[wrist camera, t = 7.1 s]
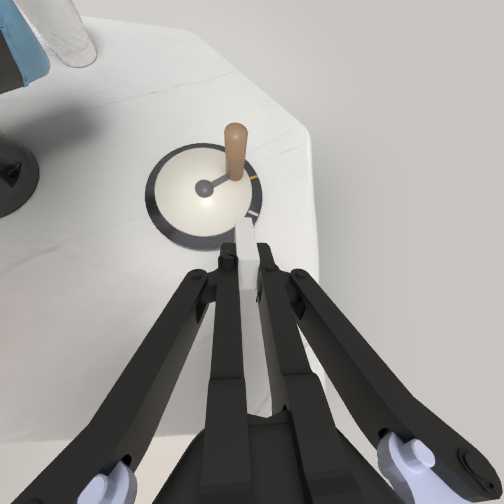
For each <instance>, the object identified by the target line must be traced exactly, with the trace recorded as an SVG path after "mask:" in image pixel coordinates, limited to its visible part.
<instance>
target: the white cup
mask: <svg viewBox="0 0 504 504" xmlns="http://www.w3.org/2000/svg"><path fill="white" fill-rule="evenodd" d="M14 1H15V3H16V4H17V5H18V7H19V8H20V9H21V10H22V12H23V13H24V14H25V16H26V17H27V18H28V19H29V21H30V22H31V23H32V24H33V26H34V27H35V28H36V29H37V31H38V32H39V33H40V34H41V36H42V37H43V38H44V39H45V41H46V42H47V43H48V44H49V45H50V46H51V47H52V48H53V50H54V51H55V52H56V54H57V55H58V56H59V57H60V59H61V60H62V61H63V62H64V63H65V64H67V65H70V66H72V67H84V66H88V65H90V64H91V63H92V62H94V60H95V58H96V56H97V53H96V48H95V46H94V44H93V42H92V41H91V39H90V37H89V35H88V32H87V30H86V28H85V26H84V24H83V22H82V20H81V18H80V16H79V14H78V12H77V10H76V8H75V6H74V4H73V2H72V0H14Z"/></svg>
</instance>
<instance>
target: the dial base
mask: <svg viewBox="0 0 504 504" xmlns="http://www.w3.org/2000/svg"><path fill="white" fill-rule="evenodd" d="M194 148H212V149H216V150H220V151H222V152H225V147H223V146H220V145H216V144H208V143H197V144H190V145H186V146H183V147H180V148H178V149H176V150H174V151H172V152H170V153H169V154H167V155H166V156H164V157H163V158H162V159H161V160H160V161H159V162H158V163H157V164H156V166H155V167H154V168H153V170H152V172H151V173H150V176H149V178H148V181H147V184H146V190H145V202H146V208H147V211H148V214H149V216H150V218H151V220H152V222H153V223H154V225H155V226H156V228H157V229H158V230H159V231H160V232H161V233H162V234H163V235H165V236H166V237H167V238H168V239H169V240H171V241H172V242H174V243H176V244H177V245H180V246H182V247H184V248H187V249H191V250H196V251H215V250H219V249H221V245H222V244H223V243H234V241H235V227H234V228H233V229H232V230H230V231H228V232H226V233H224V234H221V235H218V236H213V237H196V236H192V235H188V234H185V233H183V232H181V231H179V230H177V229H176V228H175V227H173V226H172V225H171V224H170V223H169V222H168V221H167V220H166V219H165V218H164V216H163V215H162V214H161V212H160V210H159V208H158V206H157V203H156V199H155V183H156V179H157V176H158V174H159V172H160V170H161V169H162V167H163V166H164V165H165V164H166V163H167V162H168V161H169V160H170V159H171V158H172V157H174V156H175V155H177V154H179V153H181V152H183V151H186V150H189V149H194ZM244 169H245V170H246V172H247V174H248V176H249V178H250V181H251V186H252V198H251V203H250V207H249V209H248V212H247V214H246V215H245V217H247V218H252V223H253V226H254V224H255V223H256V220H257V218H258V216H259V213H260V209H261V205H262V189H261V184H260V181H259V178H258V176H257V174H256V172H255V170H254V169H253V167H252V166H251V165H250V164H249V163H248V162H247V161H246V160H245V163H244Z"/></svg>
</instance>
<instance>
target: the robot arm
mask: <svg viewBox="0 0 504 504" xmlns="http://www.w3.org/2000/svg"><path fill="white" fill-rule="evenodd" d="M49 70H50V61H49V58H48V56H47V54H46V52H45V51H44V49H43V47H42V46H41V44H40V42H39V41H38V39H37V38H36V36H35V34H34V33H33V31H32V30H31V28H30V26H29V25H28V23H27V22H26V20H25V19H24V17H23V16H22V14H21V12H20V11H19V9H18V8H17V6H16V5H15V3H14V2H13V0H0V94H2V93H5V92H8V91H11V90H14V89H17V88H20V87H26V86H28V84H29V83H30V82H32V81H35V80H37V79H39V78H41V77H43V76H46V75H47V74H48V72H49ZM38 174H39V172H38V165H37V162H36V160H35V158H34V156H33V155H32V153H31V152H30V151H29V150H28V149H27V148H26V147H24V146H23V145H21V144H20V143H19V142H17V141H16V140H14V139H13V138H11V137H10V136H8V135H6V134H4V133H2V132H0V217H2V216H5V215H7V214H9V213H11V212H13V211H14V210H16V209H17V208H19V207H20V206H21V205H22V204H23V203H24V202H25V201H26V200H27V199H28V198H29V197H30V196H31V194H32V193H33V191H34V189H35V187H36V184H37V181H38ZM256 288H257V289H258V290H257V298H256V302H258V306H259V313H260V320H261V327H262V334H263V341H264V348H265V355H266V362H267V369H268V376H269V383H270V390H271V397H272V416H271V417H268V418H264V417H260V416H256V415H252V414H247V402H246V386H245V378H244V370H243V351H242V332H241V314H240V295H239V290H256ZM215 301H216V307H215V320H214V333H213V347H212V360H211V373H210V380H209V385H208V396H207V409H206V421H205V428H204V429H203V430H202V431H201V432H200V433H199V434H198V435H197V436H196V437H195V438H194V439H193V440H192V442H191V443H190V445H189V446H188V448H187V449H186V451H185V452H184V454H183V455H182V457H181V459H180V460H179V462H178V463H177V465H176V467H175V468H174V470H173V471H172V473H171V474H170V476H169V477H168V479H167V481H166V482H165V484H164V485H163V487H162V488H161V490H160V492H159V493H158V495H157V496H156V498H155V500H154V501H153V503H152V504H475V503H477V502H481V501H489V500H495V499H500V497H501V495H502V493H503V491H502V485H501V481H500V479H499V477H498V475H497V473H496V471H495V469H494V468H493V467H492V466H491V464H490V463H489V461H488V460H487V459H486V458H485V457H484V456H483V455H482V454H481V453H480V452H479V451H478V450H477V449H476V448H475V447H474V446H473V445H471V444H470V443H469V442H468V441H466V440H465V439H464V438H463V437H462V436H460V435H459V434H458V433H457V432H456V431H454V430H453V429H452V428H451V427H450V426H448V425H447V424H446V423H445V422H444V421H442V420H441V419H440V418H439V417H437V416H436V415H435V414H434V413H433V412H431V411H430V410H429V409H428V408H427V407H425V406H424V405H423V404H422V403H420V402H419V401H418V400H417V399H416V398H414V397H413V396H412V394H411V393H410V392H409V391H408V390H407V389H406V387H405V386H404V385H403V384H402V383H401V381H400V380H399V379H398V378H397V377H396V376H395V374H394V373H393V372H392V371H391V370H390V369H389V368H388V366H387V365H386V364H385V363H384V361H383V360H382V359H381V358H380V357H379V356H378V354H377V353H376V352H375V351H374V350H373V349H372V347H371V346H370V345H369V344H368V343H367V341H366V340H365V339H364V338H363V337H362V336H361V334H360V333H359V332H358V331H357V330H356V329H355V327H354V326H353V325H352V324H351V323H350V321H349V320H348V319H347V318H346V317H345V316H344V314H343V313H342V312H341V311H340V310H339V309H338V307H337V306H336V305H335V304H334V303H333V301H332V300H331V299H330V298H329V297H328V296H327V294H326V293H325V292H324V291H323V290H322V289H321V287H320V286H319V285H318V284H317V283H316V281H315V280H314V279H313V278H312V277H311V276H310V274H309V273H308V272H306V271H305V270H303V269H293V270H292V271H291V273H288V272H284V271H281V270H279V267H278V266H277V265H276V264H275V263H274V259H273V256H272V253H271V249H270V246H269V245H268V244H267V243H256V238H255V233H254V228H253V223H252V218H247V217H235V241H234V243H223V244H222V245H221V249H220V256H219V258H218V269H216V270H215V271H213V272H209V273H207V272H206V271H205V270H202V269H194V270H192V271H190V272H188V273H187V275H186V276H185V278H184V279H183V281H182V282H181V284H180V285H179V287H178V289H177V290H176V292H175V293H174V295H173V296H172V298H171V299H170V301H169V302H168V304H167V305H166V307H165V308H164V310H163V311H162V313H161V314H160V316H159V318H158V319H157V321H156V322H155V324H154V325H153V327H152V328H151V330H150V331H149V333H148V334H147V336H146V337H145V339H144V340H143V342H142V343H141V345H140V347H139V348H138V350H137V351H136V353H135V354H134V356H133V357H132V359H131V360H130V362H129V363H128V365H127V366H126V368H125V369H124V371H123V373H122V374H121V376H120V377H119V379H118V380H117V382H116V383H115V385H114V386H113V388H112V389H111V391H110V392H109V394H108V395H107V397H106V398H105V400H104V402H103V403H102V405H101V406H100V408H99V409H98V411H97V412H96V414H95V415H94V417H93V418H92V420H91V421H90V423H89V424H88V425H87V426H86V427H85V428H84V429H83V430H82V431H81V432H80V434H79V435H78V436H77V437H76V438H75V439H74V440H73V441H72V442H71V443H70V444H69V445H68V446H67V447H66V448H65V449H64V450H63V451H62V452H61V453H60V454H59V455H58V456H57V457H56V458H55V459H54V460H53V461H52V462H51V463H50V464H49V465H48V466H47V467H46V468H45V469H44V470H43V471H42V472H41V473H40V474H39V475H38V476H37V478H36V479H35V480H34V481H33V482H32V483H31V484H30V485H29V486H28V487H27V488H26V489H25V490H24V491H23V492H22V493H21V494H20V495H19V496H18V497H17V498H16V499H15V500H14V501H13V502H12V503H11V504H134V502H135V498H136V494H137V480H136V477H135V475H134V472H135V471H136V469H137V467H138V465H139V463H140V462H141V460H142V458H143V456H144V455H145V453H146V451H147V449H148V447H149V444H150V442H151V440H152V438H153V436H154V434H155V431H156V429H157V427H158V424H159V422H160V420H161V417H162V415H163V413H164V410H165V408H166V405H167V403H168V401H169V398H170V396H171V394H172V391H173V389H174V387H175V384H176V382H177V380H178V377H179V375H180V372H181V370H182V368H183V365H184V363H185V361H186V358H187V356H188V354H189V351H190V349H191V346H192V344H193V342H194V339H195V337H196V335H197V332H198V330H199V328H200V325H201V323H202V321H203V318H204V316H205V313H206V311H207V309H208V306H209V303H211V302H215ZM296 323H297V324H296ZM297 325H298V326H299V328H300V330H301V331H302V333H303V335H304V336H305V338H306V340H307V341H308V343H309V345H310V346H311V348H312V350H313V351H314V353H315V355H316V357H317V358H318V360H319V362H320V363H321V365H322V367H323V368H324V370H325V372H326V373H327V375H328V377H329V378H330V380H331V382H332V383H333V385H334V387H335V389H336V390H337V392H338V393H339V395H340V397H341V398H342V400H343V402H344V403H345V405H346V407H347V409H348V410H349V412H350V414H351V415H352V417H353V419H354V420H355V422H356V423H357V425H358V426H359V428H360V429H361V431H362V432H363V434H364V435H365V436H366V437H367V439H368V440H369V442H370V443H371V444H372V445H373V447H374V448H375V449H376V450H377V457H378V467H379V469H380V471H381V473H382V474H383V476H384V477H385V478H387V479H388V480H389V481H390V483H391V485H392V486H393V489H394V490H393V489H392V488H391V487H390V486H389V484H388V483H386V481H385V480H384V479H383V478H382V477H381V476H380V475H379V474H378V472H377V471H376V470H375V469H374V468H373V467H372V466H371V465H370V464H369V463H368V461H367V460H366V459H365V458H364V457H363V456H362V455H361V454H360V453H359V452H358V450H357V449H356V448H355V447H354V446H353V445H352V444H351V443H350V442H349V441H348V439H347V438H346V437H345V436H344V435H343V434H342V433H341V432H340V431H339V430H338V429H337V428H336V426H335V423H334V420H333V417H332V414H331V411H330V408H329V405H328V402H327V399H326V396H325V393H324V390H323V387H322V384H321V382H320V379H319V377H318V376H317V374H315V373H313V372H312V370H311V368H310V365H309V362H308V359H307V355H306V352H305V349H304V346H303V343H302V340H301V336H300V333H299V330H298V327H297Z"/></svg>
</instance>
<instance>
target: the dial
mask: <svg viewBox="0 0 504 504" xmlns="http://www.w3.org/2000/svg"><path fill="white" fill-rule="evenodd" d="M224 134H225V152H222V151H220V150H216V149H212V148H194V149H189V150H186V151H183V152H181V153H179V154H177V155H175V156H174V157H172V158H171V159H170V160H169V161H168V162H167V163H166V164H165V165H164V166H163V167H162V169H161V170H160V172H159V174H158V176H157V179H156V183H155V199H156V203H157V206H158V208H159V210H160V212H161V214H162V215H163V216H164V218H165V219H166V220H167V221H168V222H169V223H170V224H171V225H172V226H173V227H175V228H176V229H177V230H179V231H181V232H183V233H185V234H188V235H192V236H196V237H213V236H218V235H221V234H224V233H226V232H228V231H230V230H232V229H233V228H234V227H235V217H245V215H246V214H247V212H248V209H249V207H250V203H251V198H252V186H251V181H250V178H249V176H248V174H247V172H246V170H245V169H244V163H245V154H246V145H247V136H248V132H247V129H246V128H245V126H243V125H242V124H240V123H230V124H229V125H227V126H226V128H225V131H224Z"/></svg>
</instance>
